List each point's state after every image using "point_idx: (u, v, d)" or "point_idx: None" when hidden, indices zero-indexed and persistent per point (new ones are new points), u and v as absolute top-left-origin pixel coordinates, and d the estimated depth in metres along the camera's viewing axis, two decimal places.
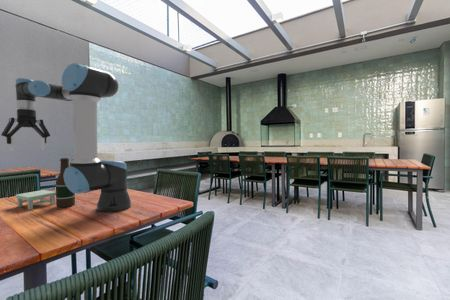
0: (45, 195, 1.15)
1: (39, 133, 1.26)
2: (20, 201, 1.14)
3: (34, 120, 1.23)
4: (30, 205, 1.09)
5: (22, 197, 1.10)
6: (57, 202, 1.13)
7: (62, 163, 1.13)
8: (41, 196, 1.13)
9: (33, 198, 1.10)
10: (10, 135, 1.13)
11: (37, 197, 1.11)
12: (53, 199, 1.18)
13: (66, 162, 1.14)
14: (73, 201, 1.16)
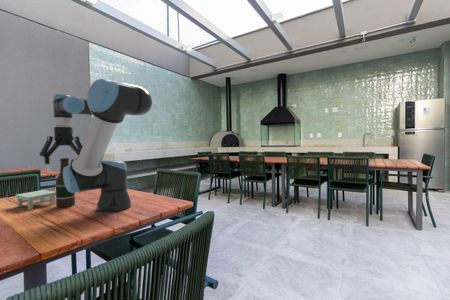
0: (45, 195, 1.15)
1: (75, 151, 1.20)
2: (20, 201, 1.14)
3: (71, 137, 1.16)
4: (30, 205, 1.09)
5: (22, 197, 1.10)
6: (57, 202, 1.13)
7: (62, 163, 1.13)
8: (41, 196, 1.13)
9: (33, 198, 1.10)
10: (48, 155, 1.07)
11: (37, 197, 1.11)
12: (53, 199, 1.18)
13: (66, 162, 1.14)
14: (73, 201, 1.16)
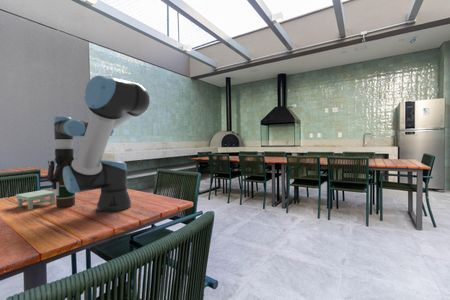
0: (45, 195, 1.15)
1: None
2: (20, 201, 1.14)
3: (72, 158, 1.17)
4: (30, 205, 1.09)
5: (22, 197, 1.10)
6: (57, 202, 1.13)
7: None
8: (41, 196, 1.13)
9: (33, 198, 1.10)
10: (55, 180, 1.10)
11: (37, 197, 1.11)
12: (53, 199, 1.18)
13: (66, 162, 1.14)
14: (73, 201, 1.16)
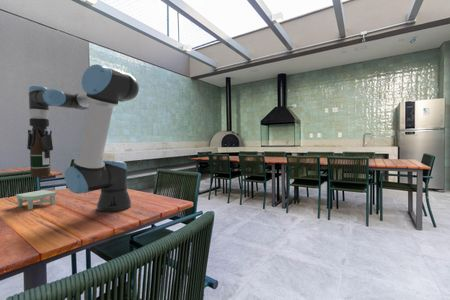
0: (45, 195, 1.15)
1: None
2: (20, 201, 1.14)
3: (41, 129, 1.13)
4: (30, 205, 1.09)
5: (22, 197, 1.10)
6: None
7: None
8: (41, 196, 1.13)
9: (33, 198, 1.10)
10: (30, 148, 1.16)
11: (37, 197, 1.11)
12: (53, 199, 1.18)
13: (36, 132, 1.13)
14: (36, 173, 1.12)
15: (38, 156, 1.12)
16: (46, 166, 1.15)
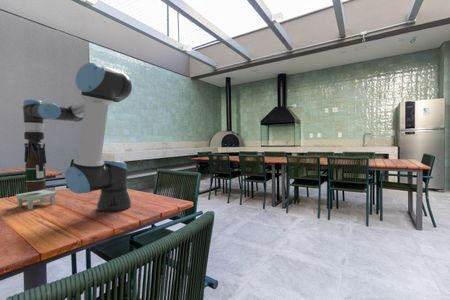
0: (45, 195, 1.15)
1: None
2: (20, 201, 1.14)
3: (35, 142, 1.13)
4: (30, 205, 1.09)
5: (22, 197, 1.10)
6: None
7: None
8: (41, 196, 1.13)
9: (33, 198, 1.10)
10: None
11: (37, 197, 1.11)
12: (53, 199, 1.18)
13: None
14: (31, 186, 1.12)
15: (32, 169, 1.12)
16: (40, 179, 1.15)
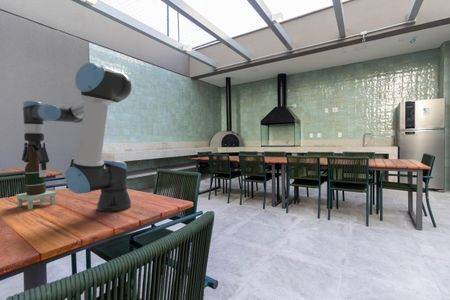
0: (45, 195, 1.15)
1: None
2: (20, 201, 1.14)
3: (35, 144, 1.13)
4: (30, 205, 1.09)
5: (22, 197, 1.10)
6: None
7: None
8: (41, 196, 1.13)
9: (33, 198, 1.10)
10: (24, 160, 1.17)
11: (37, 197, 1.11)
12: (53, 199, 1.18)
13: (29, 150, 1.14)
14: (31, 190, 1.12)
15: (32, 173, 1.12)
16: (40, 183, 1.15)
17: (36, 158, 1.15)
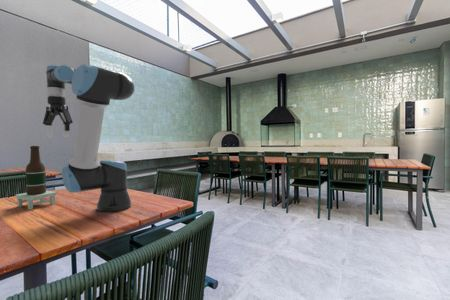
0: (45, 195, 1.15)
1: None
2: (20, 201, 1.14)
3: (58, 107, 1.19)
4: (30, 205, 1.09)
5: (22, 197, 1.10)
6: None
7: None
8: (41, 196, 1.13)
9: (33, 198, 1.10)
10: (45, 123, 1.23)
11: (37, 197, 1.11)
12: (53, 199, 1.18)
13: (31, 150, 1.14)
14: (31, 191, 1.12)
15: (33, 174, 1.12)
16: (41, 183, 1.15)
17: (37, 158, 1.15)
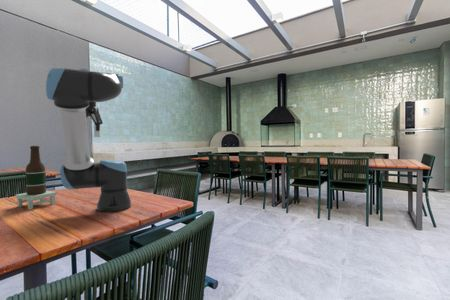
0: (45, 195, 1.15)
1: None
2: (20, 201, 1.14)
3: (89, 108, 1.29)
4: (30, 205, 1.09)
5: (22, 197, 1.10)
6: None
7: None
8: (41, 196, 1.13)
9: (33, 198, 1.10)
10: None
11: (37, 197, 1.11)
12: (53, 199, 1.18)
13: (31, 150, 1.14)
14: (31, 191, 1.12)
15: (33, 174, 1.12)
16: (41, 183, 1.15)
17: (37, 158, 1.15)
